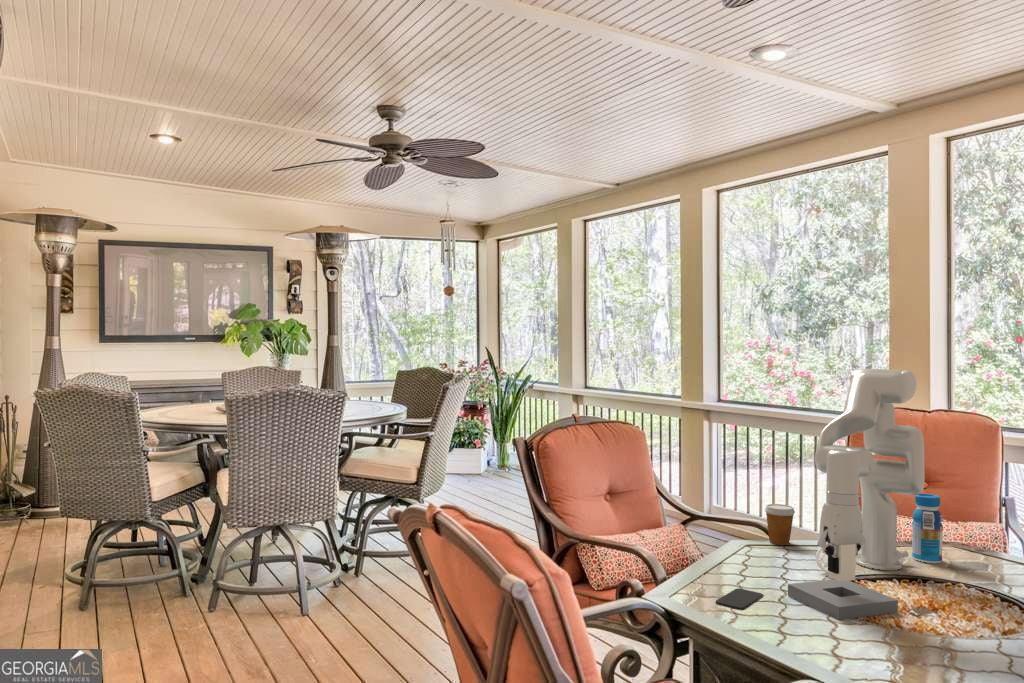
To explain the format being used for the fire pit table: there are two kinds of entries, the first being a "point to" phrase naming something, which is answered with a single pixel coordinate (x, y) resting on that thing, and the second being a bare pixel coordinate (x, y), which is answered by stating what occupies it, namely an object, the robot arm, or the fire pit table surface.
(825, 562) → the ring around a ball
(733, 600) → the phone
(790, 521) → the disposable coffee cup
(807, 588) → the socket plate
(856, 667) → the fire pit table surface
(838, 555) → the plug
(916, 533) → the beverage bottle
